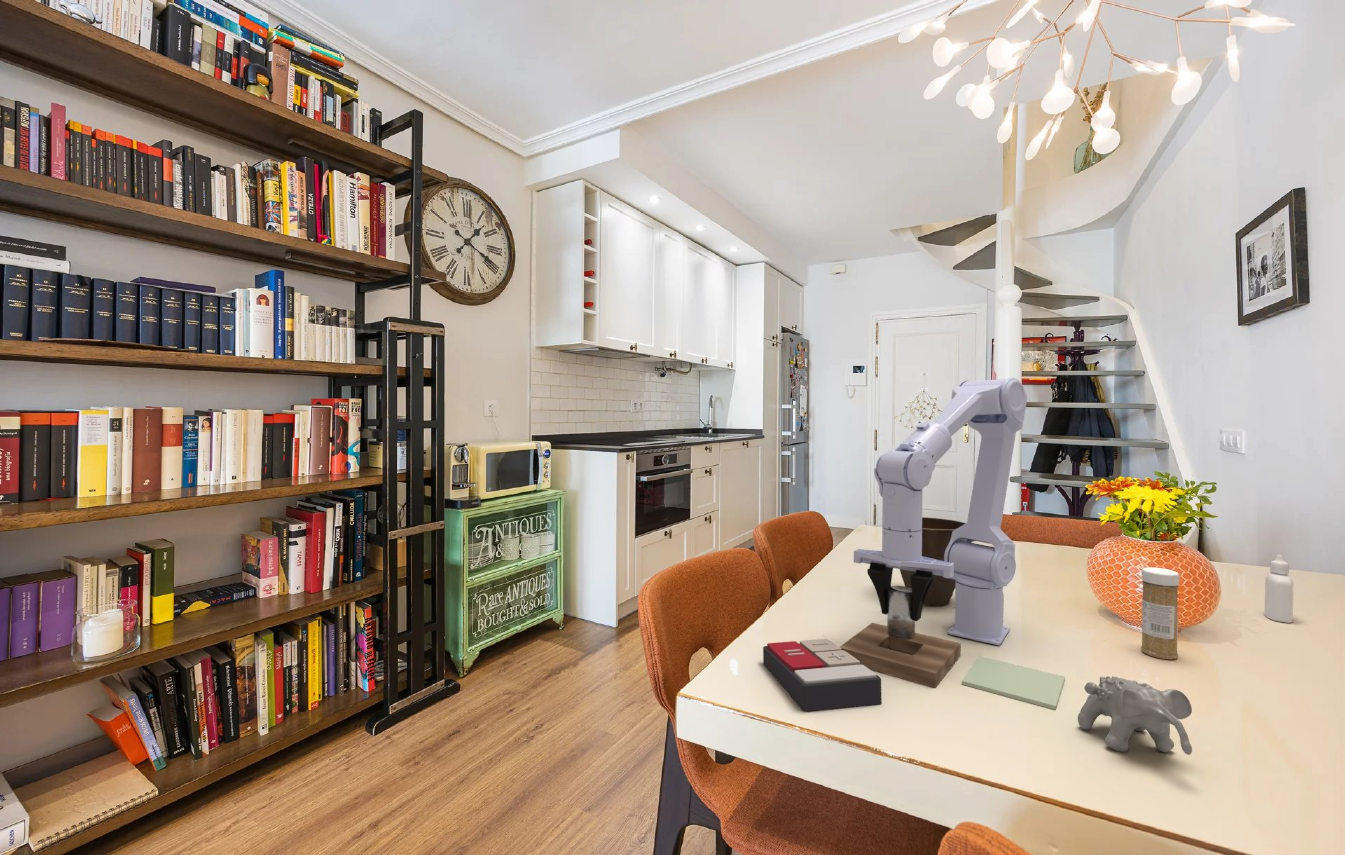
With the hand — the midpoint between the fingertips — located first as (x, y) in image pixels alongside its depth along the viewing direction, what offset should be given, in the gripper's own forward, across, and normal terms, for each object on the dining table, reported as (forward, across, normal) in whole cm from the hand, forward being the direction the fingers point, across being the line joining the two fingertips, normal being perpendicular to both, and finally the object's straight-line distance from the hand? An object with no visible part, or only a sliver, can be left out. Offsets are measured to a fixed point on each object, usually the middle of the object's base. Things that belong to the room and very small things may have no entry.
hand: (901, 615), depth 89 cm
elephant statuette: (+7, +29, -8) cm, 31 cm away
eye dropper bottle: (+7, +49, +64) cm, 81 cm away
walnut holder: (+7, 0, 0) cm, 7 cm away
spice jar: (+7, +31, +28) cm, 42 cm away
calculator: (+7, -6, -16) cm, 18 cm away
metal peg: (+3, 0, 0) cm, 3 cm away
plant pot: (+7, -5, +33) cm, 34 cm away
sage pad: (+7, +15, +2) cm, 16 cm away
